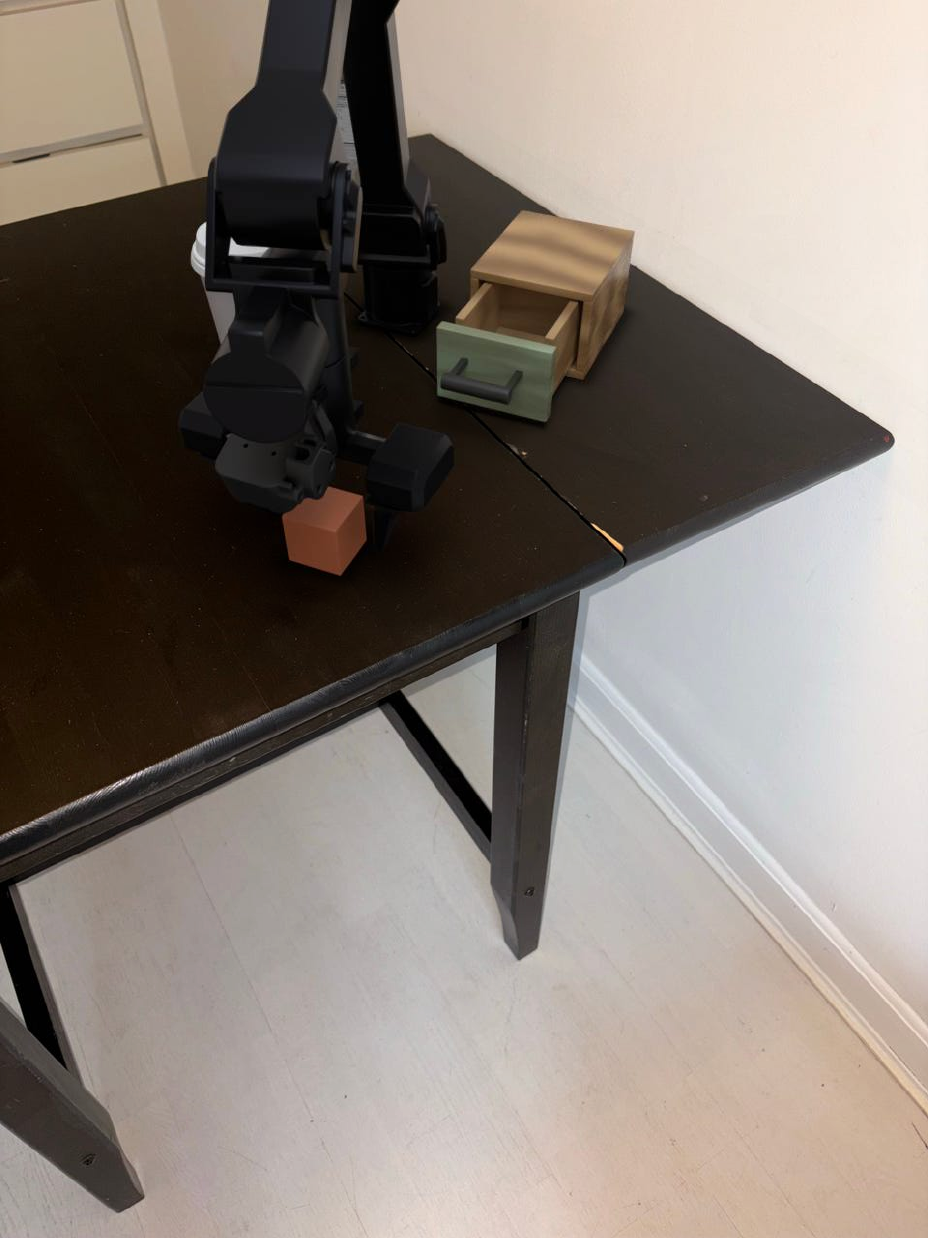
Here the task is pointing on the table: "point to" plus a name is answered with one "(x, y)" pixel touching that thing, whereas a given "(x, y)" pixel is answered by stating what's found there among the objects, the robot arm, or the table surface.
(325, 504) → the block
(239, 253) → the coffee cup
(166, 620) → the table surface
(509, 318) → the drawer
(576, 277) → the cabinet
